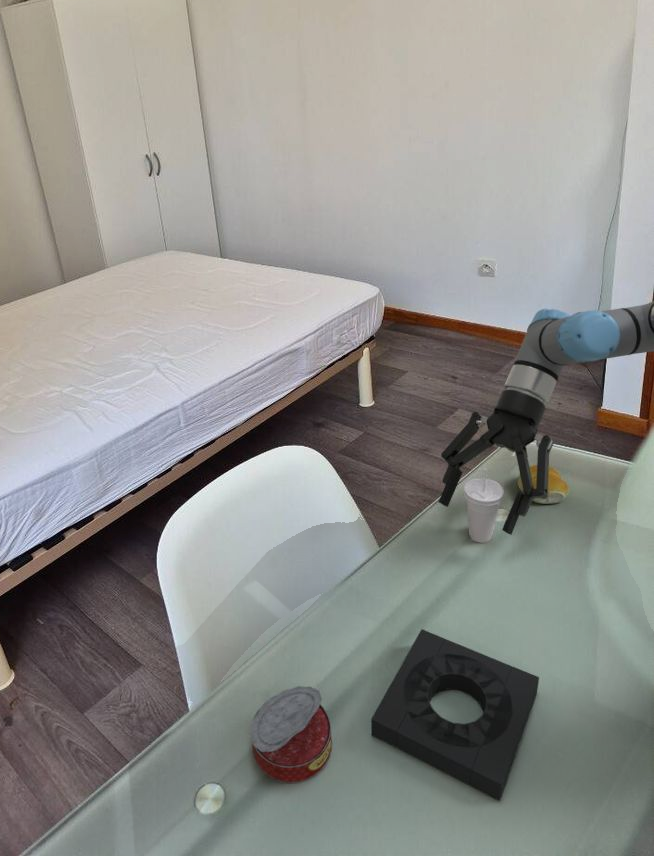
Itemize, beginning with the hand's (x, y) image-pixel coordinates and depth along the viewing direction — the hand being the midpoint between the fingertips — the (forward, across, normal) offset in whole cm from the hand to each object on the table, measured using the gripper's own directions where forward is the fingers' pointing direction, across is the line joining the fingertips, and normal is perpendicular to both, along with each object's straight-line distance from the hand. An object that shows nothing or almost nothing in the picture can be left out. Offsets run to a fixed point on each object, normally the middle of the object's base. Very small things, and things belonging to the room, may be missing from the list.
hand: (473, 518), depth 113 cm
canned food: (+36, 0, +28) cm, 46 cm away
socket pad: (+25, -14, +17) cm, 33 cm away
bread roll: (-11, -3, -19) cm, 22 cm away
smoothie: (+2, 0, -6) cm, 6 cm away
